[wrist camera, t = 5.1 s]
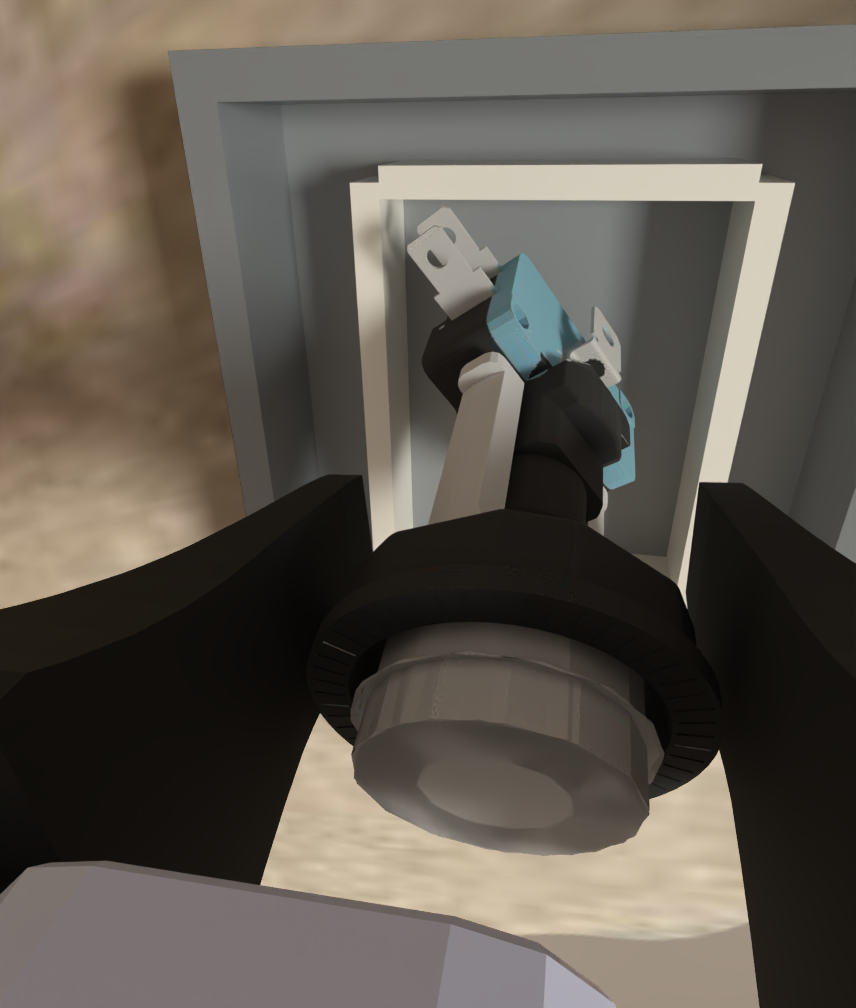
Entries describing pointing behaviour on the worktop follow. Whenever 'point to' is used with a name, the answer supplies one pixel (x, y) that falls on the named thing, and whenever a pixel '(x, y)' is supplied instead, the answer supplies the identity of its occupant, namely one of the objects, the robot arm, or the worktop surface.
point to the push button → (517, 595)
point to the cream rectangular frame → (700, 179)
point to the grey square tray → (534, 243)
